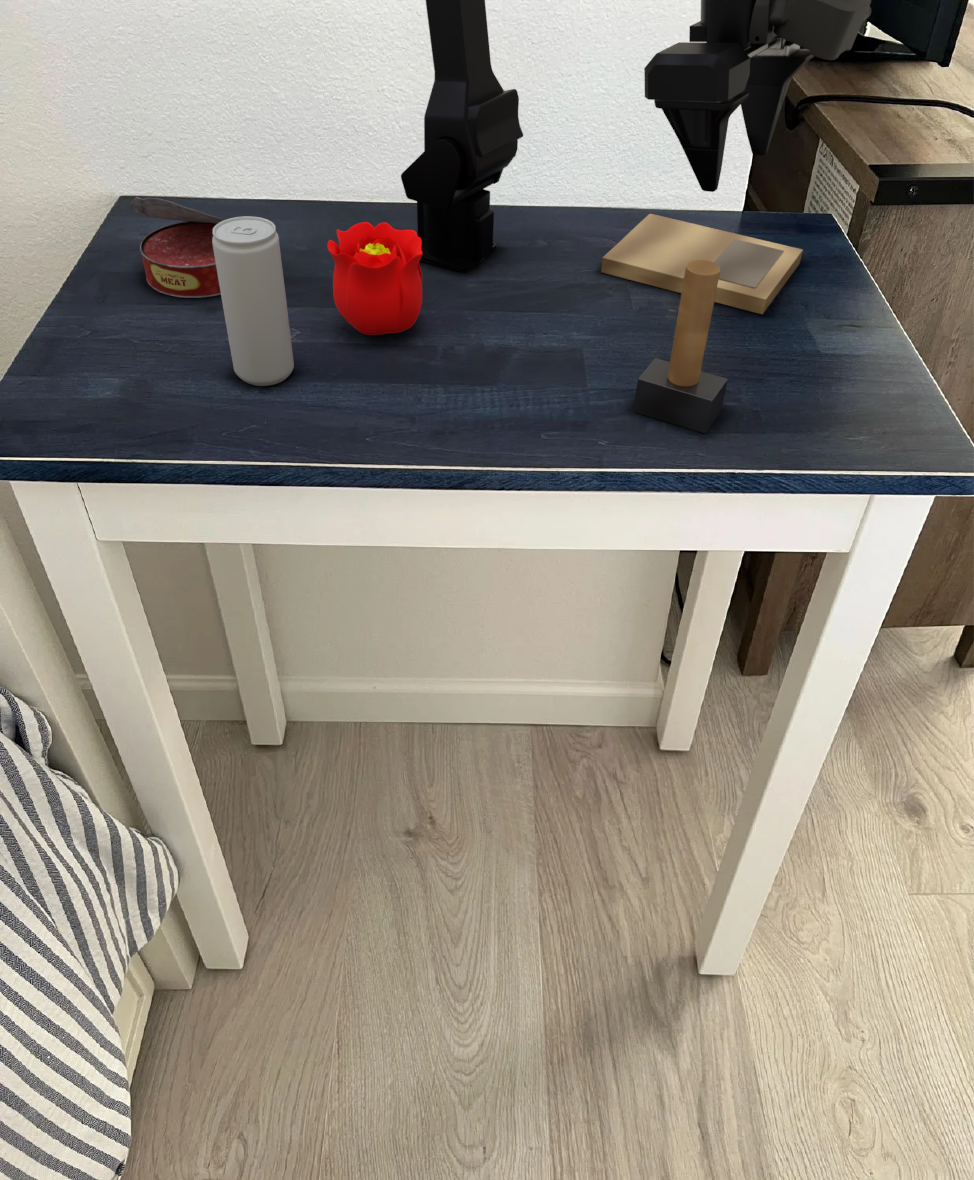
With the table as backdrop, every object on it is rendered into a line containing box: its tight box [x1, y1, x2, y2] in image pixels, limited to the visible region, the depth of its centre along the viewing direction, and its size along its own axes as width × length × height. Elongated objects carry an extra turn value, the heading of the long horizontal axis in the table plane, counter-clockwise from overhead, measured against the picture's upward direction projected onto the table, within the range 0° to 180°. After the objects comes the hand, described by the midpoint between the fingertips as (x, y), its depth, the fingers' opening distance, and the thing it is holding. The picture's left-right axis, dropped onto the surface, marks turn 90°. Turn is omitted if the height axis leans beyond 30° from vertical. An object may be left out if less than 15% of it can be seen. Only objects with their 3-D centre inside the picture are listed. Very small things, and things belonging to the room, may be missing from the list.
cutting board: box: [600, 213, 804, 315], centre depth 97 cm, size 16×12×2 cm
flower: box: [327, 221, 423, 336], centre depth 85 cm, size 8×8×8 cm
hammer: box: [633, 260, 729, 435], centre depth 75 cm, size 6×4×12 cm, turn 61°
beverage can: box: [212, 215, 295, 387], centre depth 78 cm, size 5×5×12 cm
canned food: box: [129, 196, 226, 299], centre depth 92 cm, size 11×10×10 cm
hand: (735, 172), depth 78 cm, fingers open, 9 cm apart
